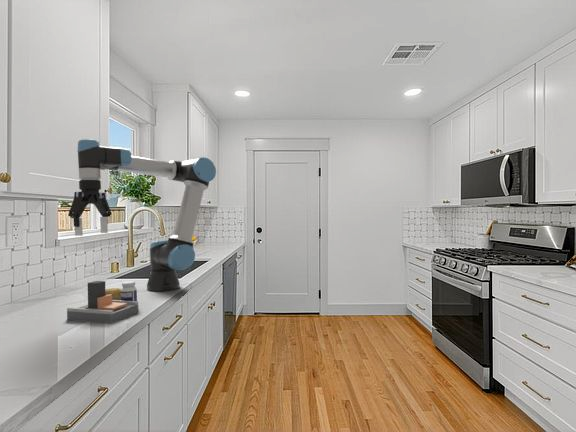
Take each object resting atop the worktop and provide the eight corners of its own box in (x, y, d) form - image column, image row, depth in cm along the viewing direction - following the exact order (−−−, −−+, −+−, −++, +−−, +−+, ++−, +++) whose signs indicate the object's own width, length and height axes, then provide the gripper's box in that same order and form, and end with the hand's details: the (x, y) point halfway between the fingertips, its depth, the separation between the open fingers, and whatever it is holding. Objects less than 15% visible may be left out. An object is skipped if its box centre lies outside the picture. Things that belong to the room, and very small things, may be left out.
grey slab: (97, 309, 142) (97, 299, 142) (138, 312, 138) (138, 301, 138) (67, 319, 129) (67, 308, 129) (110, 323, 124) (110, 311, 124)
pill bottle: (130, 305, 148) (129, 280, 148) (140, 306, 146) (140, 281, 146) (117, 308, 143) (117, 282, 143) (127, 310, 141) (127, 284, 141)
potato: (124, 304, 150) (124, 288, 150) (93, 307, 145) (93, 291, 145) (123, 300, 156) (123, 285, 156) (93, 304, 151) (93, 288, 151)
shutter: (111, 304, 137) (110, 294, 137) (127, 305, 135) (126, 294, 135) (96, 309, 130) (96, 298, 130) (113, 310, 128) (112, 299, 128)
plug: (96, 313, 137) (96, 280, 136) (105, 314, 135) (105, 281, 135) (88, 316, 133) (87, 282, 133) (97, 317, 132) (96, 283, 132)
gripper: (104, 182, 159) (105, 231, 159) (55, 178, 135) (58, 236, 135) (119, 181, 157) (121, 231, 158) (73, 177, 133) (75, 236, 133)
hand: (92, 234), depth 146 cm, fingers open, 13 cm apart
